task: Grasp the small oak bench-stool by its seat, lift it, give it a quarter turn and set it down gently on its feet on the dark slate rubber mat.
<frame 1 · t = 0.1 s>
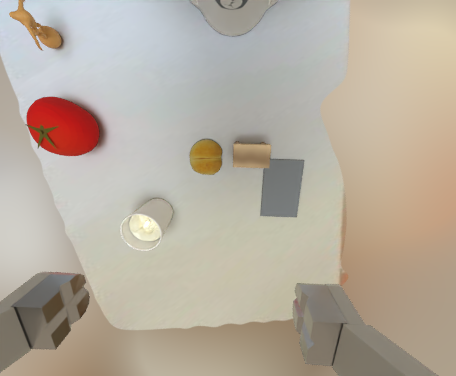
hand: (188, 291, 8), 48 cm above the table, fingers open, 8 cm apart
mat: (281, 188, 56), on the table
candle holder: (159, 211, 60), on the table
bread roll: (207, 157, 55), on the table
stool: (249, 150, 54), on the table
tomato: (82, 126, 54), on the table
figurine: (62, 40, 48), on the table
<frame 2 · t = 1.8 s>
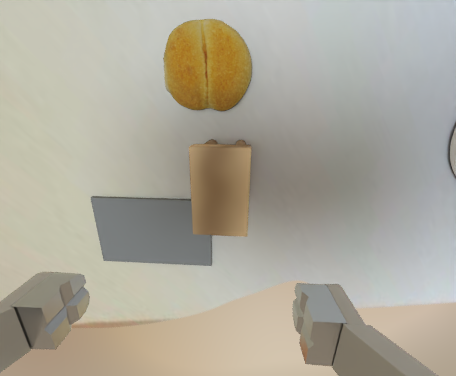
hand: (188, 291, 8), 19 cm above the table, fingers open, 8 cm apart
mat: (154, 231, 29), on the table
bread roll: (208, 72, 23), on the table
stool: (226, 170, 26), on the table
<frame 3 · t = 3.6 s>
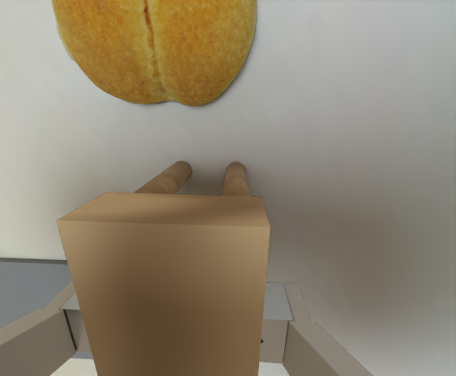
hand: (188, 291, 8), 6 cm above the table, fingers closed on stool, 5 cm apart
mat: (90, 312, 17), on the table
bread roll: (165, 27, 11), on the table
stool: (209, 217, 14), on the table, touching gripper
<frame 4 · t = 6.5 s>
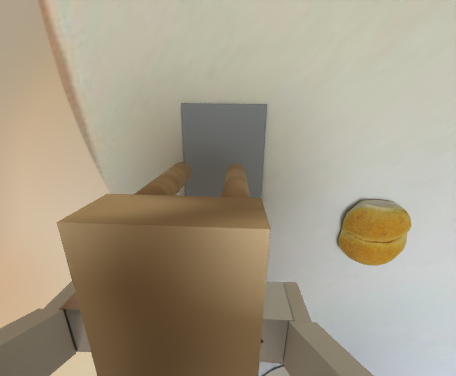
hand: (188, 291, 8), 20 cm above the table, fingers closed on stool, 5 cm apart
mat: (223, 170, 27), on the table
bread roll: (366, 226, 29), on the table
stool: (209, 218, 14), point 14 cm above the table, touching gripper
when the fingers open (8 cm above the table, at t = 9.4 s): stool stays where it is, resting on mat.
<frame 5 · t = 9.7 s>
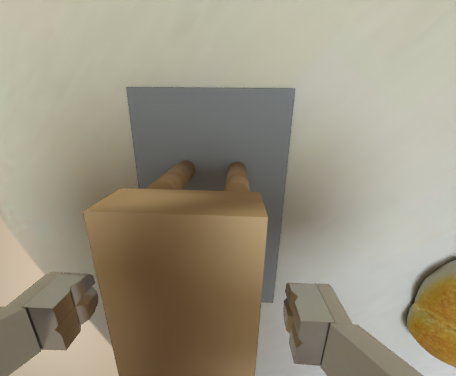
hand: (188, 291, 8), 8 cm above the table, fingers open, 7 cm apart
mat: (211, 209, 15), on the table
bread roll: (454, 296, 17), on the table
stool: (211, 213, 15), resting on mat
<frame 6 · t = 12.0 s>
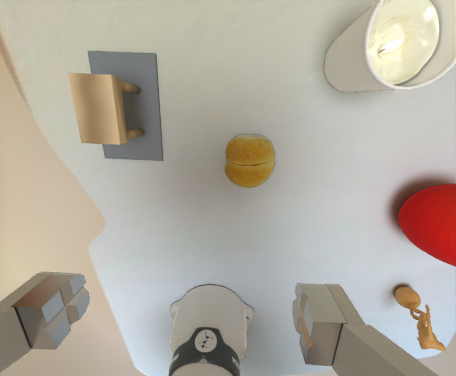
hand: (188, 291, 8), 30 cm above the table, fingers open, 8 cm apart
mat: (129, 110, 34), on the table
candle holder: (351, 62, 31), on the table
bread roll: (248, 158, 37), on the table
stool: (128, 111, 34), resting on mat
tomato: (420, 208, 39), on the table
figurine: (394, 289, 45), on the table
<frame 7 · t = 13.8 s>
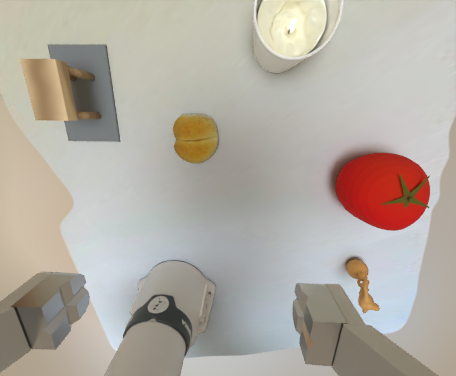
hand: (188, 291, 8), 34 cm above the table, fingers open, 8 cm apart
mat: (87, 96, 38), on the table
candle holder: (278, 45, 35), on the table
bread roll: (196, 137, 40), on the table
stool: (86, 96, 38), resting on mat
tomato: (360, 181, 41), on the table
figurine: (347, 263, 47), on the table
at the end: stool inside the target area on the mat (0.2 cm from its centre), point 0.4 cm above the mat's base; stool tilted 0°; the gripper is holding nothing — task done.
